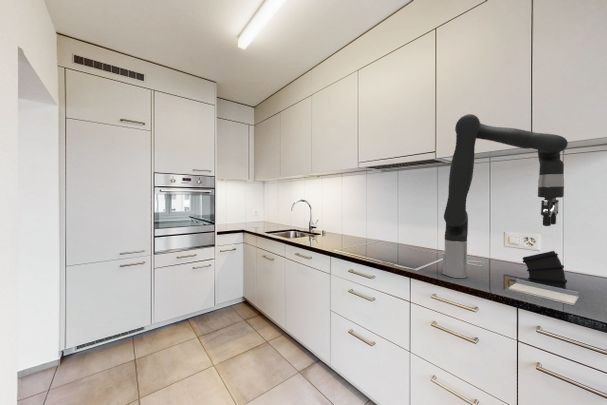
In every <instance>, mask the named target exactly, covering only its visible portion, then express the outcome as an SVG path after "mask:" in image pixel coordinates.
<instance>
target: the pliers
mask: <svg viewBox="0 0 607 405" xmlns="http://www.w3.org/2000/svg"><path fill="white" fill-rule="evenodd" d="M475 263H480V264H486V261H480V260H479V261H478V260H467V265H469V266H474V267H475V266H476V267H483V265H480V264H475Z"/></svg>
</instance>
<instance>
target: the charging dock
mask: <svg viewBox="0 0 607 405" xmlns="http://www.w3.org/2000/svg"><path fill="white" fill-rule="evenodd" d="M508 290H509V291H512V292H515V293H516V292H517V293H521V294H526V295H528V296H529V295H530V296H533V297H534V296H535V297H538V298H541V299H546V300H549V301H554V302H558V303H563V304H567V305H570V306H575V304H576V303H577V301H578V300H579V295H580V294H579V292H580V291H575V290H571V289H566V288H565V289H562V288H557V287H552V286H548V285H543V284H538V283H533V282H529V280H528V281H527V280H523V279H519V278H516V279H515V283H514V284H512V285H510V286H509V287H508Z"/></svg>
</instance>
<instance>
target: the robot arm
mask: <svg viewBox="0 0 607 405" xmlns="http://www.w3.org/2000/svg"><path fill="white" fill-rule="evenodd" d="M454 131H455V133H456V134H455V138H456V141H455V148H454V152H453V155H452V158H451V164H450V167H449V175H448V176H449V177H448V193H447V194H448V196H447V201H446V206H445V209H444V213H443V219H444V220H443V221H445V232H444V254H442V274H443V275H444V276H448V277H450V278H454V279H466V278H468V264H467V261H468V236H469V235H468V234H469V233H468V231H469V230H468V229H469V215H468V212H467V210H466V209H467V197H468V193H469V191H470V188H471V185H472V181H473V176H474V169H475V150H476V149H475V147H476V141H477V140H485V141H490V142H495V143H498V144H503V145H507V146H511V147H515V148H520V149H525V150H526V149H527V150H528V149H529V150H530V149H531V150H532V149H533V150H537V156H538V162H539V168H538V169H539V170H538V171H539V172H538V173H539V175H538V179H537V180H538V181H537V197H538V198H544V199H543V200H541V207H540V215H541V216H542V226H544V227H551V226H552V225H556V224H557V216H558V214H559V199H557V198H563V197H564V196H565V195H564V194H565V177H564V170H565V169H564V166H565V164H564V161H562V160H561V152H563V151H564V150H566V148H567V146H568V140H567V139H566V137H564V136H561V135H558V134H552V133H545V132H544V133H542V132H534V131H531V130H525V129H521V128H513V127H501V126H500V127H499V126H491V125H487V124H484V123H481V121H480V119H479V118H478V116H477V115H475V114H474V113H473V114H471V113H469V114H468V113H467V114H465V115H463V116H461V117H460V118H459V119H458V120H457V121H456V123H455V127H454Z"/></svg>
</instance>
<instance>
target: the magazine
mask: <svg viewBox="0 0 607 405" xmlns="http://www.w3.org/2000/svg"><path fill="white" fill-rule="evenodd" d="M558 255H559V254H558V253H557V252H555V250H551V251H550V250H549V251H547V252H542V253H537V254H532V255H528V256H527V255H526V256H523V257H522V263H523V264H525V266H526V268H527V269H526V272H528V276H529V277H527V279H528V282H533V283H538V284H543V285H548V286H552V287H557V288H562V289H566V287H567V286H566V284H567V283H568V279H566V274H565V270H564V268H565V266H564V264H562V262H561V260H560V258H559V256H558Z"/></svg>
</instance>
